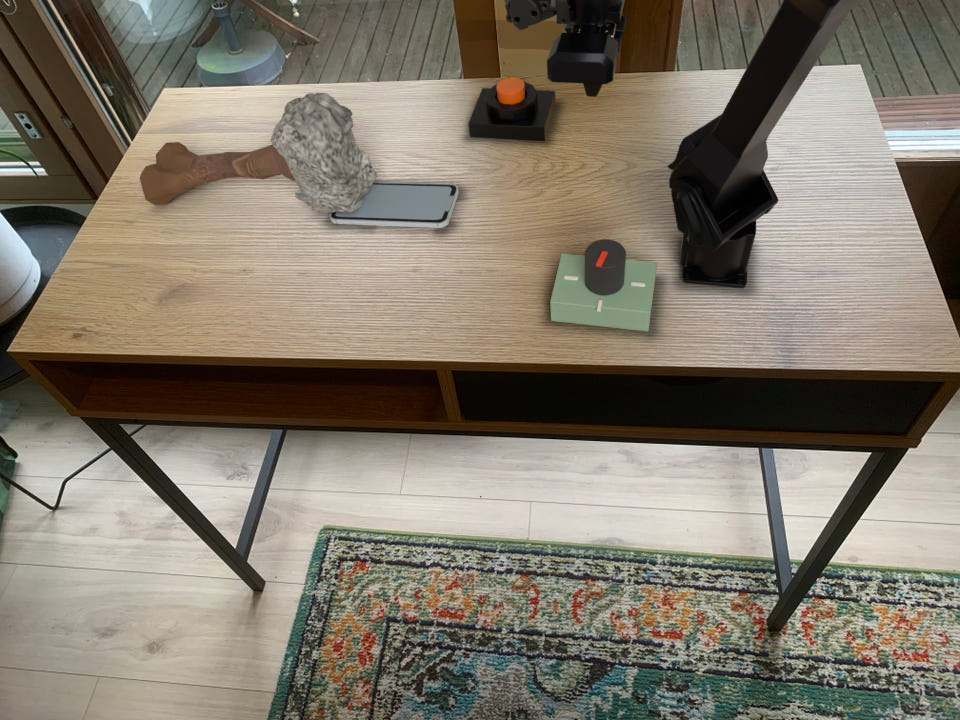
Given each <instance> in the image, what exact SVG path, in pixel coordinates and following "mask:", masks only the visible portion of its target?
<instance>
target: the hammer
mask: <svg viewBox="0 0 960 720" xmlns="http://www.w3.org/2000/svg"><path fill="white" fill-rule="evenodd" d="M353 115H354V114H353V112H352V110H351V109H350V108H348V107H346V106H345V105H341V104H340V103H339V102H338V101H337V100H336V99H335V98H334V97H333V96H331V95H330V94H329V93H327V92H315V93H313V92H309V93H308V92H307V93H306V94H305V95H304V97H303V96H302V97H295V98H294V99H291V100H290V101H288V102H287V103H286V105H285V107H284V111H283V113H282V116H281V119H280V120H279V121H278V123H277V124H276V125H275V127H274V128H273V132H272V135H271V138H270V143H271V144H269V145H266V146H264V147H261V148H257V149H254V150H252V151H224V152H219V153H218V152H217V153H216V152H215V153H208V154H207V153H206V154H201V155H198V154H196V153H194V152H192V151H191V150H189V149H188V148H187V146H186V145H185V144H183V143H182V142H180V141H173V142H172V141H171V142H165V143H164V144H163V145H162V146H161V148H159V150H158V151H157V153H156V154H155V163H151V164H149V165H146V166H145V167H144V168H143V170H142V171H141V173H140V175H139V182H140V185H141V189H142V193H143V197H144V199H145V201H147V202H148V203H150V204H152V205H155V206H159V205H165V204H168V203H169V202H171V200H173V199H175V198H176V197H177V196H179V195H181V194H182V193H185V192H188V191H189V190H192V189H194V188H196V187H199V186H201V185H203V184H209V183H212V182H217V181H221V180H224V179H233V178H245V179H253V180H254V179H255V180H266V179H270V178H272V177H277V176H281V175H282V176H283V177H285V178H287V179H288V180H291V181H293V182H295V183H296V185H297V186H298V188H299V189H298V190H297V191H295V192H294V196H295V199H297V200H298V201H301V202H304V203H305V204H306V205H307V206H308V207H309V208H310V209H311V210H312V211H313V212H314V213H324V214H330V213H332V212H347V213H353V212H355V211H356V210H357V209H359V208H360V207H362V205H363V201H364V196H365V195H366V193H367V192H368V191H369V190H370V189H371V187H372V185H373V183H374V182H376V179H377V175H378V173H377V172H376V170H375V169H374V168H373V166H372V164H371V159H370V157H369V153H367V152H365V151H364V150H362V149H361V148H360V147H359V145H358V143H357V141H356V138H355V135H354V132H353V129H352V128H354V120H353V117H352V116H353Z"/></svg>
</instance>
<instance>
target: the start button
mask: <svg viewBox="0 0 960 720" xmlns="http://www.w3.org/2000/svg"><path fill="white" fill-rule="evenodd" d="M523 81H524V80H523V79H521V78H519V77H513V76H512V77H511V76H510V77H506V78H502V79H501V80H499V81H498V82H497V83H496V84H497V86H496V88H497V98H498V101H499V102H500V103H502V104H516V103H520V102H521V101H523V100H524V98H525V84H524V82H525V81H524V82H523Z"/></svg>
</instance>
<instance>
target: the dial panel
mask: <svg viewBox="0 0 960 720" xmlns="http://www.w3.org/2000/svg"><path fill="white" fill-rule="evenodd" d="M657 267H658V262H657V261H651V260H650V261H649V260H640V259H639V260H637V259H627V258H626V262H625V277H624V285H623V287H622V288H621V289H620V290H619V291H618V292H616V293H614V294H611V295H597V294H594V293H592V292H591V291H589V290H588V289H587V287H586V285H585V255H582V254H571V253H561V254H560V258H559V263H558V266H557V272H556V274H555V275H556V276H555V279H554V283H553V288H552V292H551V297H550V300H549V303H550V304H549V305H550V306H549V308H550V309H549V310H550V321H551V322H557V323H558V322H559V323H567V324H576V325H577V324H578V325H586V326H593V327H603V328H613V329H623V330H631V331H632V330H633V331H639V332H649V331H650V323H651V315H652V307H653V299H654V292H655V285H656V277H657Z"/></svg>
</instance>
